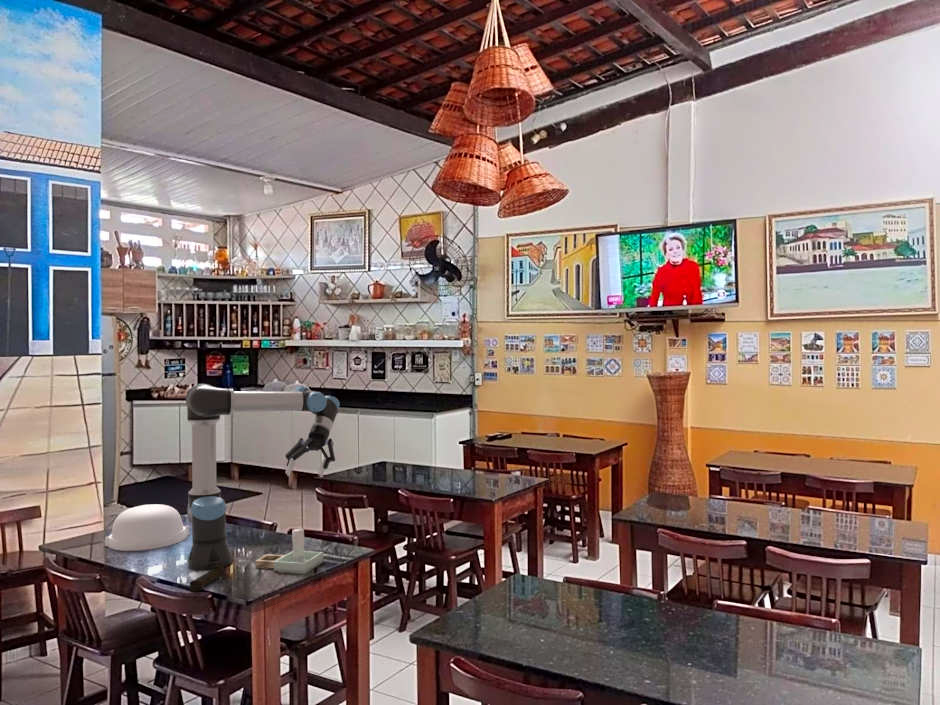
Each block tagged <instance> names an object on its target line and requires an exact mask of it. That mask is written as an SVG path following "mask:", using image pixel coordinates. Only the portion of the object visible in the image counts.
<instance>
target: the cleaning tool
mask: <svg viewBox="0 0 940 705" xmlns="http://www.w3.org/2000/svg"><path fill="white" fill-rule="evenodd" d="M291 534H292V536H291V537H292V551H293V562H297V563H305V551H306V550H305V530H304V528H295V529H292V532H291Z"/></svg>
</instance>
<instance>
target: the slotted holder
mask: <svg viewBox="0 0 940 705" xmlns="http://www.w3.org/2000/svg"><path fill="white" fill-rule="evenodd" d="M285 555H286V554H271V553H270V554H268V553H267V554H265V555H263V556H261V557H259V558H258V559H256V560H254V561H255V568H256V567H263V568H262V569H268V568H274V561H276V560H278V559H279V558H281V557H283V556H285Z"/></svg>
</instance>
